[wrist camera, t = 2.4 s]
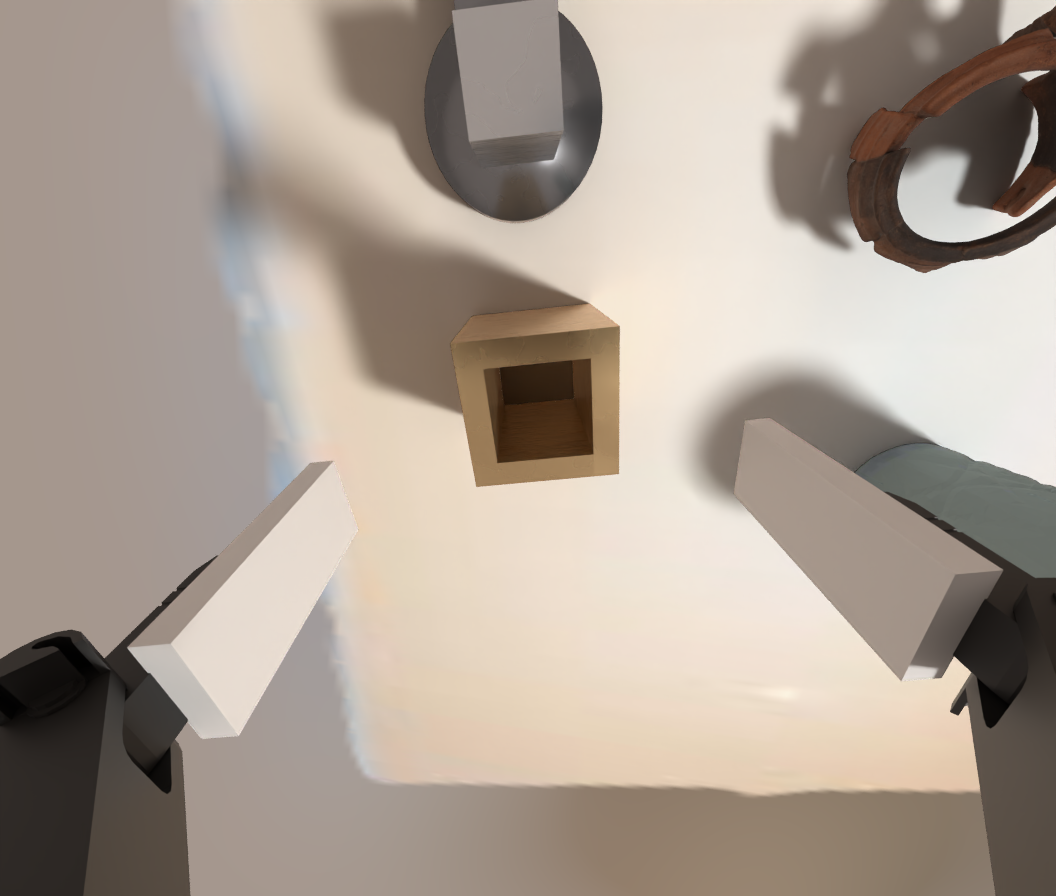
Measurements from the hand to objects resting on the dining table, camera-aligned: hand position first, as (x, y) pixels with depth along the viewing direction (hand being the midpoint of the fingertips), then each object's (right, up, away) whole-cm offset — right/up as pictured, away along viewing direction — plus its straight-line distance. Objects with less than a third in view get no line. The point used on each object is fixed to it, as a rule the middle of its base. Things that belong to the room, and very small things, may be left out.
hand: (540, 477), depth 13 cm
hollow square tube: (0, +6, +12) cm, 13 cm away
